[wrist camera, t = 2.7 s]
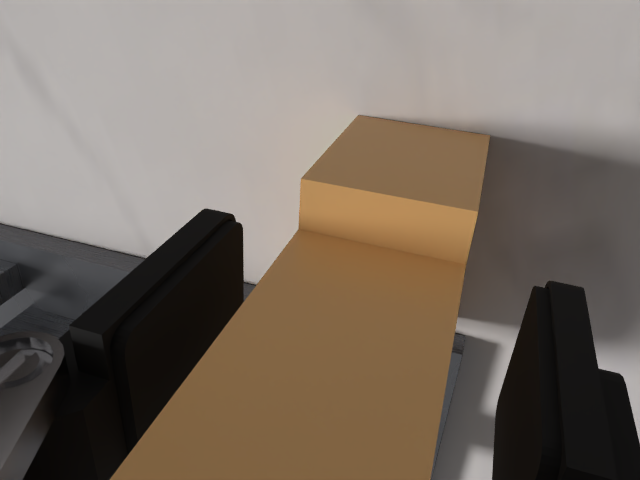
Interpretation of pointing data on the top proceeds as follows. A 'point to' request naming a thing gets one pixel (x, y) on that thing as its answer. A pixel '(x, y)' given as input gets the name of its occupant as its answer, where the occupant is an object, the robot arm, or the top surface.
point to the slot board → (88, 289)
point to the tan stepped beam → (338, 325)
